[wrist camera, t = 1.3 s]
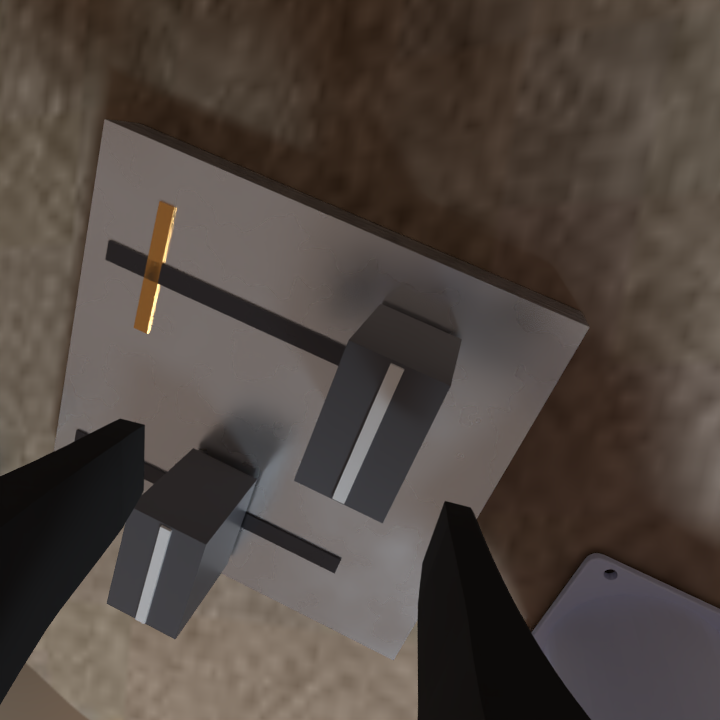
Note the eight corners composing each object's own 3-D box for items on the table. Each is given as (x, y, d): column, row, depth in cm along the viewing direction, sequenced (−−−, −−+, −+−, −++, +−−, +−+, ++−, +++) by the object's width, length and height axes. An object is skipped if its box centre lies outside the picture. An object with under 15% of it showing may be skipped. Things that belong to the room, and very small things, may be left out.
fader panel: (581, 311, 19) (589, 328, 17) (401, 625, 26) (393, 662, 24) (139, 123, 21) (102, 118, 19) (78, 464, 28) (46, 486, 26)
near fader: (461, 339, 18) (450, 387, 14) (405, 455, 20) (382, 525, 16) (380, 303, 18) (347, 341, 15) (333, 421, 20) (292, 482, 17)
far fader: (257, 479, 22) (204, 546, 18) (227, 564, 24) (173, 641, 20) (193, 447, 23) (127, 508, 19) (168, 534, 24) (104, 605, 21)
